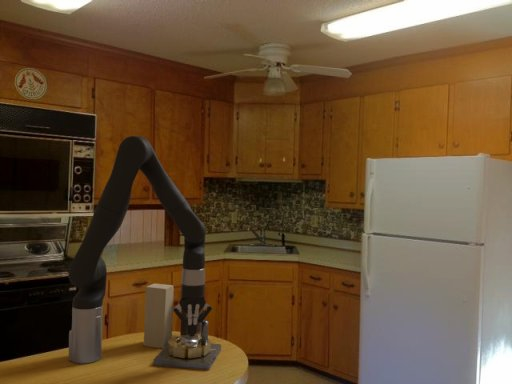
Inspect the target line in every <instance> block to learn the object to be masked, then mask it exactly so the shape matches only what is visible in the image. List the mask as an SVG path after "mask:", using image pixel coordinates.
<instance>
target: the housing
mask: <svg viewBox="0 0 512 384" xmlns="http://www.w3.org/2000/svg"><path fill="white" fill-rule="evenodd" d="M198 341H199V339H198V338H197V337H192V336H188V337H183V338H181V339H180V342H185V346H194V345H198ZM167 348H168V345H167V346H166V347H165V348H162V349H161V351H160V352H159V353H158V354H157V355H156V356H155V357H154V358H153V366H157V367H170V368H179V369H180V368H181V369H190V370H191V369H192V370H206V371H210V369H211V367H212V366H213V364H214V362H215V361H216V359H217V358H218V356H219V354H220V352H221V351H222V344H221V343H212V342H211V350H210V352H209V353H208V354H206V355H205V356H202V355H201V357H196V358H188V357H186V358H180V357H175V356H173V355H170V354H169V352H168V351H167Z"/></svg>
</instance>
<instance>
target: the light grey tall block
mask: <svg viewBox="0 0 512 384" xmlns="http://www.w3.org/2000/svg"><path fill="white" fill-rule="evenodd" d="M174 291H175V289H174V285H173V284H164V283H163V284H162V283H152V284H150V285H147V286H146V287H145V296H144V297H145V300H144V302H145V303H144V304H145V305H144V323H143V324H144V326H143V327H144V328H143V346H145V347H148V348H149V347H150V348H157V349H164V348H165V347H166V346H167V345H168V340H170V339H171V336H172V335H173V319H174V318H173V315H174V311H173V307H174Z"/></svg>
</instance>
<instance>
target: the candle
mask: <svg viewBox="0 0 512 384" xmlns="http://www.w3.org/2000/svg"><path fill="white" fill-rule="evenodd" d="M180 313H181V314H182V315H183V317H184V318H186V319H187V315H186V313H185V312H184V310H183V309H182V308H181V312H180ZM201 313H202V310H201V311H200V312H199V313H198V317H199V316H200V314H201ZM192 317H193V314H192ZM196 332H200V333H201V323H198V324H197V327H196ZM179 333H180V334H179V336H181V335H188V333H187V324H185V323H183V322H182V321H181V320H180V331H179Z"/></svg>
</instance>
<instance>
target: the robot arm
mask: <svg viewBox="0 0 512 384" xmlns="http://www.w3.org/2000/svg"><path fill="white" fill-rule="evenodd" d="M163 167H164V166H163V165H162V164H161V162H160V160H159V158H158V157H157V154H156V152H155V150H154V148H153V146H152V144H151V143H150V140H148V139H147V138H145V137H144V136H140V135H139V136H138V135H131V136H127V137H126V138H124V139H123V140H122V141H121V142H120V144H119V146H118V148H117V153H116V155H115V160H114V163H113V167H112V169H111V173H110V176H109V178H108V180H107V182H106V184H105V186H104V189H103V190H102V193H101V195H100V197H99V200H98V202H97V204H96V207H95V209H94V212H93V215H92V217H91V220H90V222H89V225H88V227H87V230H86V232H85V234H84V238H83V240H82V242H81V243H80V245H79V248H78V250H77V251H76V253H75V255H74V257H73V259H72V260H71V263H70V265H69V268H68V274H67V275H68V279H69V282H70V284H71V285H72V286H74V287H76V288H78V291H77V293H76V294H75V295H74V297H73V298H72V305H71V306H72V310H71V312H72V313H71V316H72V319H71V329H70V330H69V331H68V332H69V333H68V361H71V362H72V363H74V364H75V363H76V364H91V363H94V362H95V363H96V362H97V361H99V360H101V359H102V351H103V349H102V348H103V347H102V346H103V339H102V338H103V308H104V307H103V303H104V298H105V296H106V291H107V290H106V288H107V265H106V262H105V260H104V259H103V258H102V257H101V256H102V253H103V251H104V249H105V248H106V247H107V245H108V244H109V242H110V241H112V238H114V236H115V235H116V234H117V233H118V232H119V230H120V228H121V226H122V224H123V221H124V220H125V217H126V214H127V212H128V209H129V206H130V202H131V195H132V188H133V185H134V183H135V180H136V177H137V176H138V173H139V171H140V172H141V173H143V175H144V176H145V177H146V179H147V180H148V182H149V185H151V187H152V190H153V191H154V193H155V195H156V198H157V199H158V201H159V203H160V205H162V208H164V210H165V211H166V213H168V215H169V217H170V218H171V219H172V220H173V221H174V223H175V225H176V226H177V228H178V230H179V232H180V233H181V234H182V236H183V239H184V243H183V245H184V246H183V247H184V249H183V250H184V251H183V254H182V271H181V279H180V280H181V284H180V287H181V288H180V299H179V302H178V304H177V305H175V306H173V313H174V314H175V315H176V316H177V317H178V319H179V320H180V322H181V321H182V322H183V323H185V324H187V333H188V335H189V336H194V334H196V327H197V324H198V323H201V322H202V321H203V320H206V319H205V318H206V317H207V316H208V315H209V314H210V312H212V310H213V307H212V306H211V305H210V304H208V303H207V300H206V298H205V296H206V295H205V293H206V291H205V290H206V289H205V288H206V270H205V269H206V267H205V266H206V265H205V264H206V261H205V260H206V256H205V255H206V254H205V246H206V235H207V233H206V232H207V229H206V226H205V223H203V221H201V220H200V218H198V216H197V215H196V214H195V213H194V211H193V210H192V208H191V206H190V204H189V202H188V201H187V199H186V198H185V197H184V195H183V194H182V193H181V191H180V189H178V187H177V186H176V184H175V183H174V182H173V180H172V179H171V177H170V176H169V175H168V173H167V172H166V171H165V168H163ZM182 309H183V310H184V312H185V313H186V315H187V319H186V318H184V317H183V315H182V314H181V311H182ZM202 310H203V311H202ZM200 311H201V314H200V316H199V317H198V313H199V312H200ZM192 314H193V317H192Z"/></svg>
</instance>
